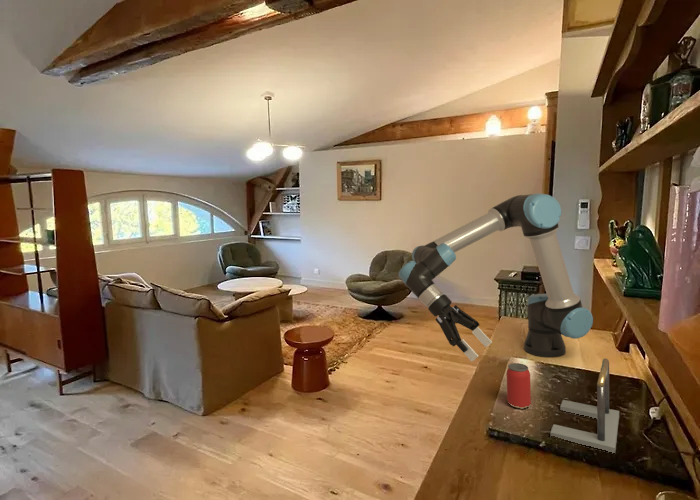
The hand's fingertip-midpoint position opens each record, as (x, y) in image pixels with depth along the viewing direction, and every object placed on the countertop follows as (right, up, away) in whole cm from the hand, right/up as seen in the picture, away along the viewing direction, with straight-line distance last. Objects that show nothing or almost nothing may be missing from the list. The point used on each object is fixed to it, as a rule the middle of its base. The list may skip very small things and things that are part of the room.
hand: (482, 351), depth 127 cm
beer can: (+10, -15, -4) cm, 18 cm away
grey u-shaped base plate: (+22, -15, -18) cm, 32 cm away
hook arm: (+25, -16, -21) cm, 36 cm away
